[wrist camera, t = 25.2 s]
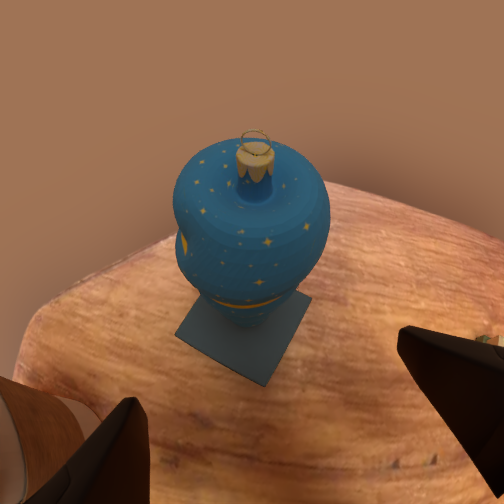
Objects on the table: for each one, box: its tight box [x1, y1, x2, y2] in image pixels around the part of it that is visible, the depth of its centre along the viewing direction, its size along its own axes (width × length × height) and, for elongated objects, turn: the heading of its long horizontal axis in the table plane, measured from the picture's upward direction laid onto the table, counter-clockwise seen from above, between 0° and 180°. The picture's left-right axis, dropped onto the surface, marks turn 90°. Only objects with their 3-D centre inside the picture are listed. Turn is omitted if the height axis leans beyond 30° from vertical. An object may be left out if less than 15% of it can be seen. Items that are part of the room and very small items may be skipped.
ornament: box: [173, 129, 330, 327], centre depth 13 cm, size 5×5×15 cm
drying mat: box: [175, 290, 312, 387], centre depth 20 cm, size 7×7×1 cm
